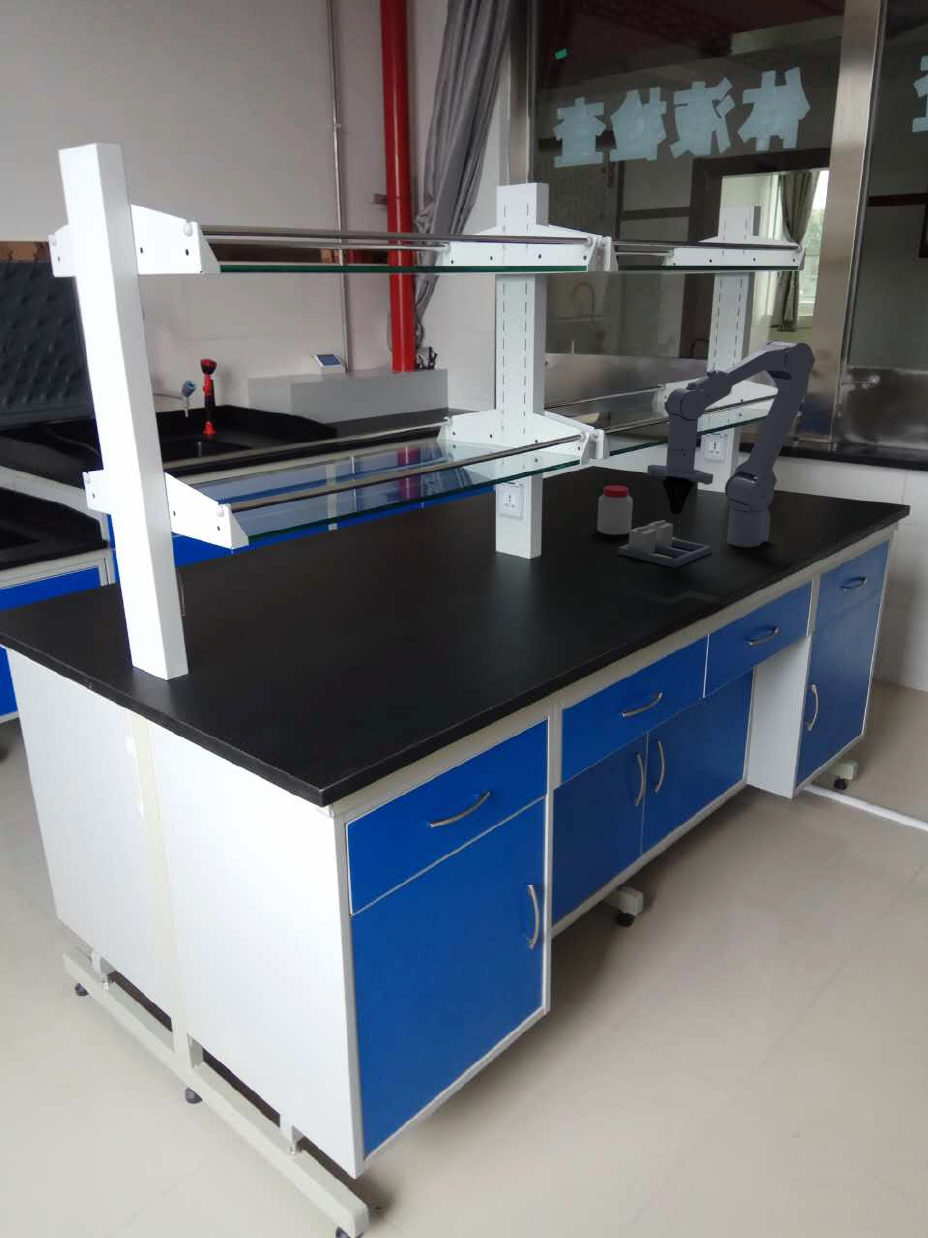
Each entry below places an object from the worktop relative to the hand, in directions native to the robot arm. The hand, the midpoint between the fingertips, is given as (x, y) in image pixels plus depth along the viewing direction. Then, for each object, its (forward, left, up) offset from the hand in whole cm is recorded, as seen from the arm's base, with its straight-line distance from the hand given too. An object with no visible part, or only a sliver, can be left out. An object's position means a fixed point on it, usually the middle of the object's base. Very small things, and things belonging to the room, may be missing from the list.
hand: (676, 513), depth 196 cm
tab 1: (+6, -4, -8) cm, 11 cm away
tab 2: (-1, -4, -8) cm, 9 cm away
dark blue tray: (+3, -3, -9) cm, 10 cm away
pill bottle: (-5, -19, -10) cm, 22 cm away
